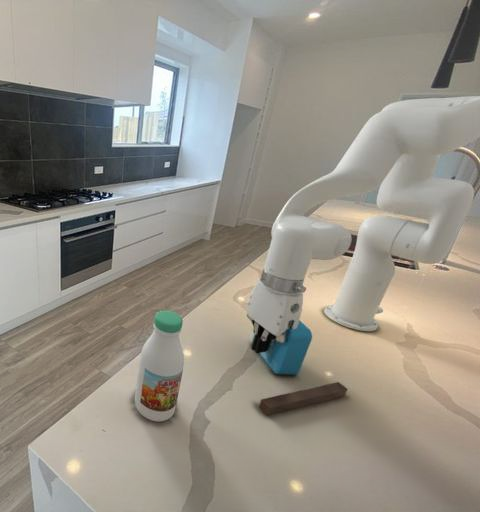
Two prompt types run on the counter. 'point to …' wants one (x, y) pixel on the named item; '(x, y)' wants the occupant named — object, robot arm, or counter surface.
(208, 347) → the counter surface
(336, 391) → the strip
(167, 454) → the counter surface
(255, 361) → the counter surface
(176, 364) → the milk bottle
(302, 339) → the data package
